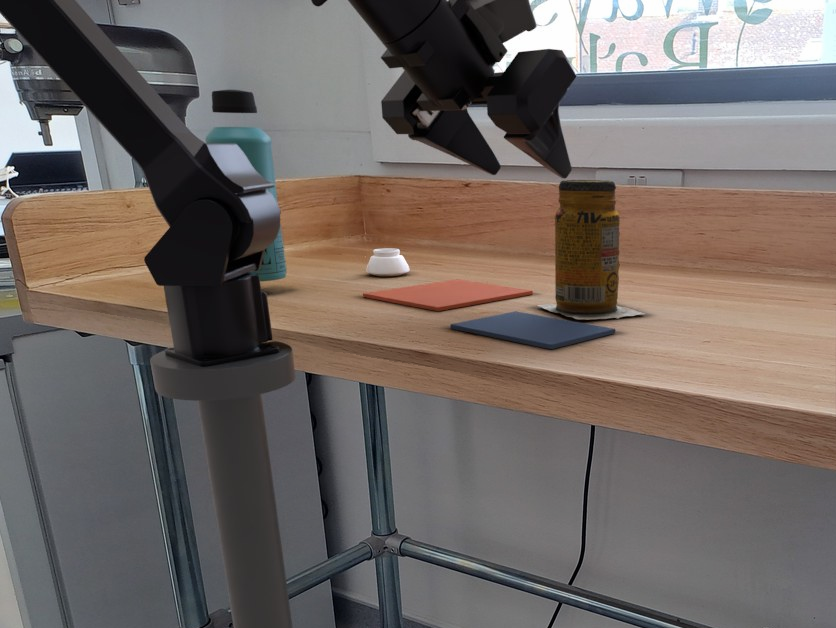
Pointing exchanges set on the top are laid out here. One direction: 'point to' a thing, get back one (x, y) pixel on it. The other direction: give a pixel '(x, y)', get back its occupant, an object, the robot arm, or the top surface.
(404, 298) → the terracotta mat
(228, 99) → the beverage bottle
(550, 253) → the top surface
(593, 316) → the condiment
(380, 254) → the white jar
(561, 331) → the slate mat
